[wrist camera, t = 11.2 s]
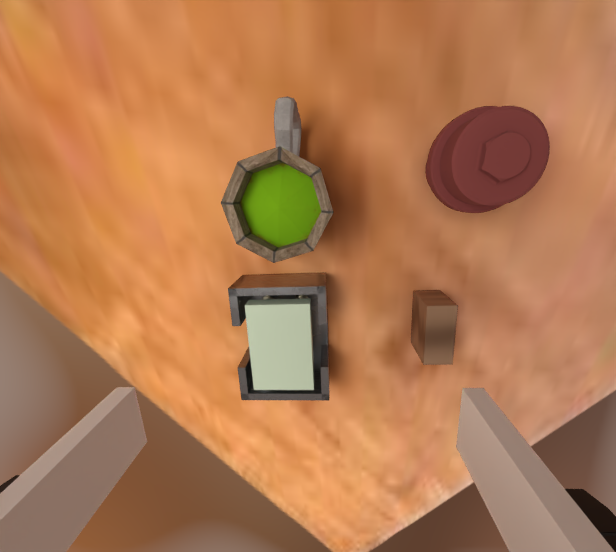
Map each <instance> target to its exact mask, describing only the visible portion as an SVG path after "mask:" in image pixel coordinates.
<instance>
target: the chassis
mask: <svg viewBox="0 0 616 552" xmlns="http://www.w3.org/2000/svg"><path fill="white" fill-rule="evenodd" d="M228 292H229V301H230V309H231V317H232V325H233V326H241V324H242V323H243V321H244V320H245V318H246V313H245V304H246V303H247V302H248V300H266V299H311V318H312V339H313V360H314V390H254V387H253V377H252V368H251V359H250V350H249V347H248V349H247V351H246V353H245V355H244V357H243V359H242V360H241V362H240V364H239V366H238V374H239V383H240V391H241V399H242V400H329V353H328V321H327V290H326V273H297V274H263V275H242V276H241V277H240V278H239V279H238V280H237V281H236V282H235V283H234V284H233V285H231V286H230V287H229V288H228Z"/></svg>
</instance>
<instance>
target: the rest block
mask: <svg viewBox="0 0 616 552" xmlns="http://www.w3.org/2000/svg"><path fill="white" fill-rule="evenodd" d="M457 310H458V305H457V304H456V303H454V302H453V301H452V300H451V299H450V298H448V297H447V296H446V295H445V294H444V293H442V292H441V291H440V290H426V291H413V308H412V329H411V343H412V345H413V347H414V349H415V350H416V352H417V354H418V356H419V357H420V359H421V361H422V363H423V365H447V364H453V354H454V343H455V332H456V321H457Z"/></svg>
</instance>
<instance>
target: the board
mask: <svg viewBox="0 0 616 552" xmlns="http://www.w3.org/2000/svg"><path fill="white" fill-rule="evenodd" d="M245 313H246V322H247V331H248V340H249V350H250V359H251V368H252V377H253V387H254V390H314V360H313V339H312V318H311V299H266V300H248V302H247V303H246V304H245Z"/></svg>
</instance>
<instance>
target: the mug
mask: <svg viewBox="0 0 616 552" xmlns="http://www.w3.org/2000/svg"><path fill="white" fill-rule="evenodd" d="M274 129H275V139H276V148H274V149H271V150H268V151H265V152H263V153H260V154H257V155H254V156H252V157H249V158H246V159H243V160H241V161H238V162H237V165H236V167H235V170H234V172H233V174H232V177H231V179H230V182H229V184H228V187H227V189H226V191H225V194H224V196H223V199H222V201H221V204H222V207H223V210H224V212H225V215H226V218H227V220H228V223H229V225H230V228H231V231H232V233H233V236H234V239H235V241H236V244H238V245H240V246H242V247H244V248H246V249H248V250H250V251H252V252H254V253H256V254H257V255H259V256H261V257H263V258H265V259H267V260H269V261H271V262H273V263H275V262H278V261H282V260H285V259H288V258H291V257H295V256H298V255H301V254H304V253H308V252H311V251H313V250H314V248H315V246H316V245H317V243H318V241H319V239H320V237H321V235H322V233H323V231H324V229H325V227H326V226H327V224H328V222H329V220H330V218H331V216H332V214H333V209H332V206H331V202H330V199H329V196H328V192H327V189H326V185H325V182H324V179H323V175H322V172H321V168H319V167H317V166H315V165H314V164H312V163H310V162H308V161H306V160H304V159H303V158H301V157H299V153H300V142H301V119H300V116H299V113H298V108H297V103H296V101H295V100H294V98H291V97H282V98H278V99H277V100H276V104H275V112H274Z"/></svg>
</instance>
